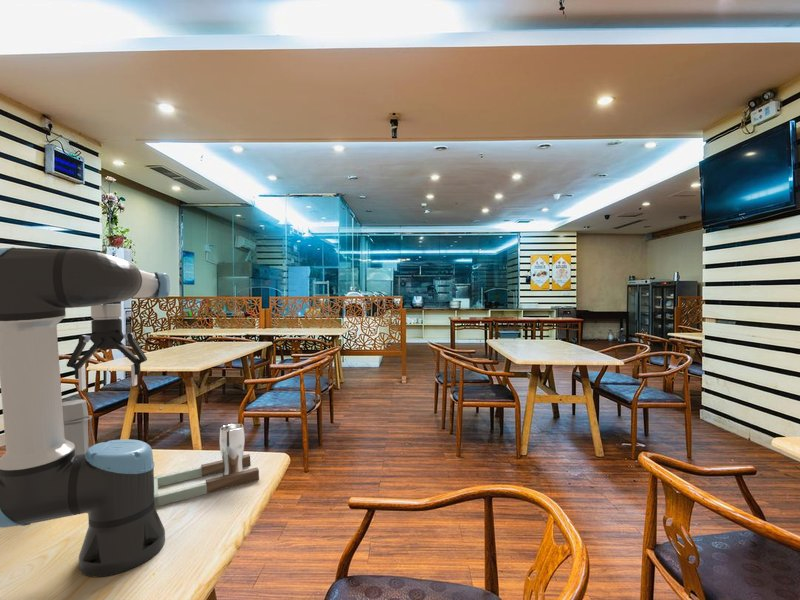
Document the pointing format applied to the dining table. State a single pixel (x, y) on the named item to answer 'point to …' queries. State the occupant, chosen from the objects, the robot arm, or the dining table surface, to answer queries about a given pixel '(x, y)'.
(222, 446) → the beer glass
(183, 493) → the pale green u-shaped frame
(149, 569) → the dining table surface
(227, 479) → the slot rails
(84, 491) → the robot arm
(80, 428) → the water bottle
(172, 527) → the dining table surface
